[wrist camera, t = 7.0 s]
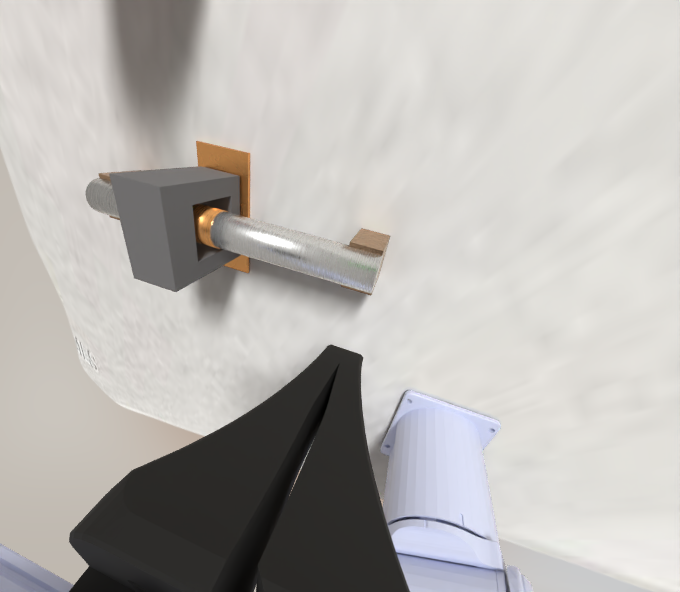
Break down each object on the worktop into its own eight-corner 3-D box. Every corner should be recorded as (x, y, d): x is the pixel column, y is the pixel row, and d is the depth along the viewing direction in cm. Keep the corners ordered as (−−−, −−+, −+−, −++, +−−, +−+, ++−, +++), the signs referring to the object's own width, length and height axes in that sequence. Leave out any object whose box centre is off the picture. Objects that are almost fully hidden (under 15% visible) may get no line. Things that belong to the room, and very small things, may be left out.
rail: (403, 189, 17) (396, 200, 13) (369, 309, 21) (356, 343, 18) (132, 125, 20) (62, 120, 16) (154, 242, 24) (103, 259, 21)
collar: (239, 175, 19) (159, 186, 13) (240, 255, 22) (176, 292, 16) (201, 166, 19) (109, 173, 14) (208, 245, 22) (134, 278, 17)
